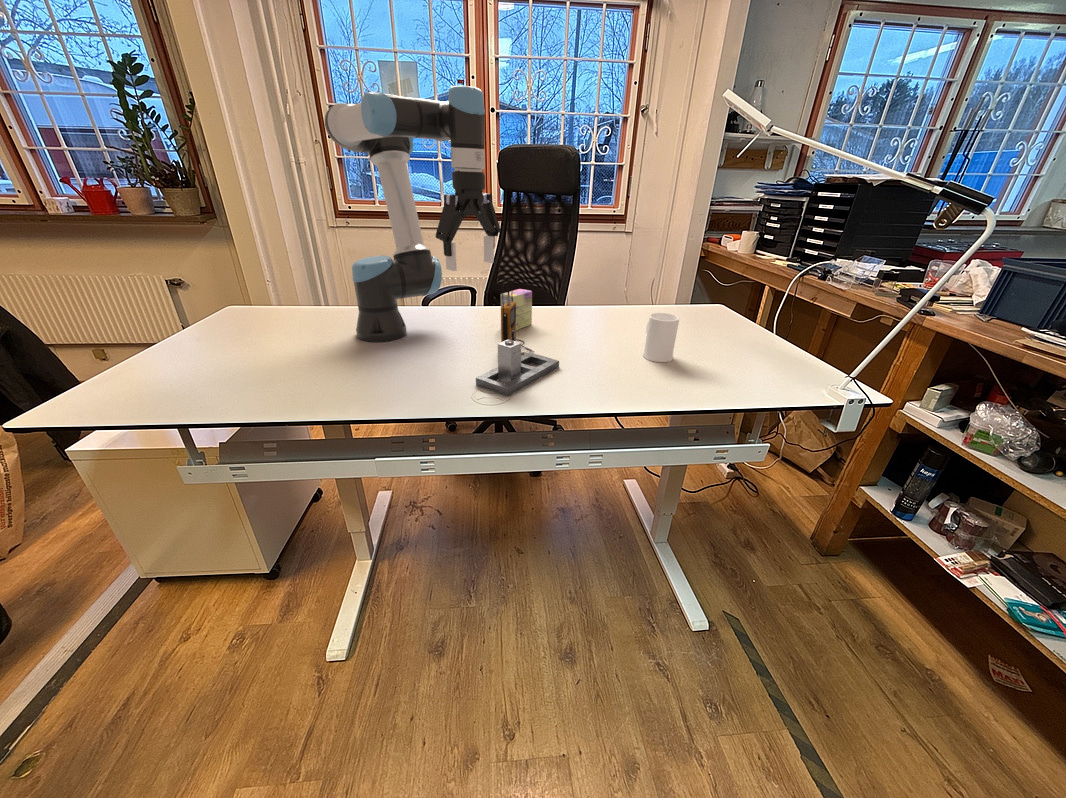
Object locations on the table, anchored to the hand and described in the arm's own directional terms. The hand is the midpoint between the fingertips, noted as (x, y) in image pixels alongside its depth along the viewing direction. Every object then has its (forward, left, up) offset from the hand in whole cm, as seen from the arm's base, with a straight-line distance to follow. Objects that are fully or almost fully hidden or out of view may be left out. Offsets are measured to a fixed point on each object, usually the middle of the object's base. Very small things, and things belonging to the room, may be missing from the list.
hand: (471, 266), depth 106 cm
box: (-9, +31, -26) cm, 41 cm away
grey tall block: (+17, -5, -25) cm, 31 cm away
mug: (+39, +36, -26) cm, 58 cm away
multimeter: (+5, +15, -26) cm, 30 cm away
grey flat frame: (+17, -1, -25) cm, 30 cm away
